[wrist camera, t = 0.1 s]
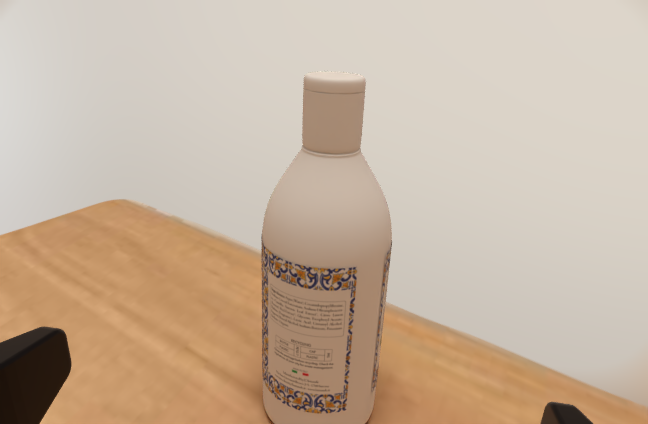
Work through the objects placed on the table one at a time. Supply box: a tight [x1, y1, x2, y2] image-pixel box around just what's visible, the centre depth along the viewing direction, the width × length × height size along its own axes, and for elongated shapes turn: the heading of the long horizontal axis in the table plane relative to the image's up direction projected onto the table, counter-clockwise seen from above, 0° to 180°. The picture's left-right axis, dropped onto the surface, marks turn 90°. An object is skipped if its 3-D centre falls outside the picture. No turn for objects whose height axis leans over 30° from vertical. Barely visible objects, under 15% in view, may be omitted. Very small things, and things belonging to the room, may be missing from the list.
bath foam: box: [262, 71, 392, 424], centre depth 27 cm, size 7×7×20 cm
